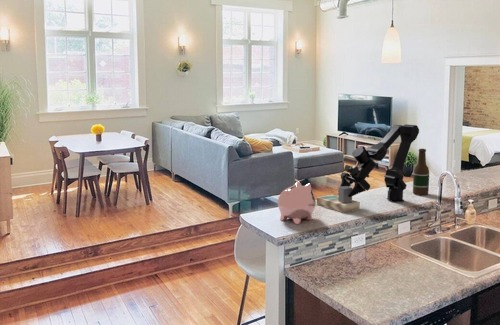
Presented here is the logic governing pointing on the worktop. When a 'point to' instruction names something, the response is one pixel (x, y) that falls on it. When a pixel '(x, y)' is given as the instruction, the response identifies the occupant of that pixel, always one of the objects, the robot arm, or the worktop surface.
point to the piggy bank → (297, 203)
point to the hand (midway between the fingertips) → (343, 194)
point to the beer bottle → (421, 175)
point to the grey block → (344, 194)
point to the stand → (337, 203)
